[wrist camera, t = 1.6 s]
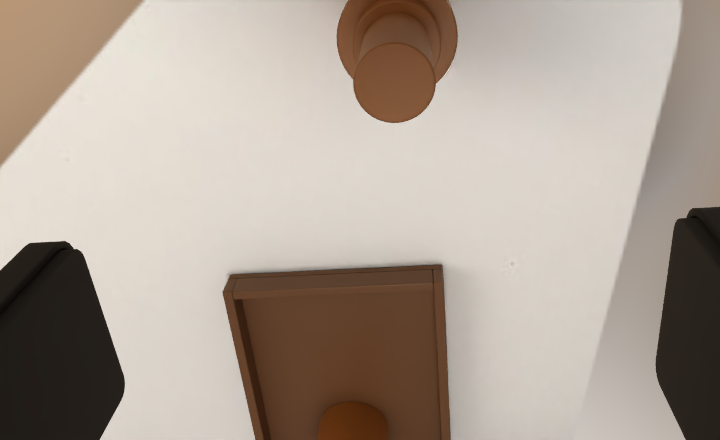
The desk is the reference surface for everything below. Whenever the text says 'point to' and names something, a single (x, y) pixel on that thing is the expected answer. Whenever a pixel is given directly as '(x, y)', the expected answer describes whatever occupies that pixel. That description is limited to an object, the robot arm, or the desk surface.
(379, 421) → the bottle
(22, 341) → the robot arm
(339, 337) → the tray
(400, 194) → the desk surface
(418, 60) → the bottle
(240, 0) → the desk surface
